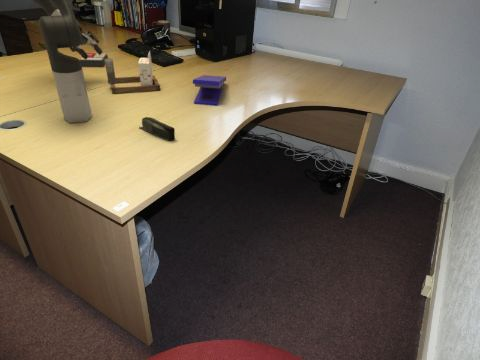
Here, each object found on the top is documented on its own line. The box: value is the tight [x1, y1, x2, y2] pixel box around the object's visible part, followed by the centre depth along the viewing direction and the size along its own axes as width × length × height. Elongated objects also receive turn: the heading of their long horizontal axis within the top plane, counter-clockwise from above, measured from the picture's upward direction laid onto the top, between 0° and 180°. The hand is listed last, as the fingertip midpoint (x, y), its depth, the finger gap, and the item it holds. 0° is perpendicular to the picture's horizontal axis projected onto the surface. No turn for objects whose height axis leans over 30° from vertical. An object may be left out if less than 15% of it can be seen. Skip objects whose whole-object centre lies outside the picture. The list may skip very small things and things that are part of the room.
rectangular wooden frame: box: [104, 57, 161, 94], centre depth 145 cm, size 14×21×12 cm
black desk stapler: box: [138, 116, 176, 142], centre depth 112 cm, size 5×3×15 cm
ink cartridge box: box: [137, 50, 154, 86], centre depth 146 cm, size 9×5×15 cm, turn 9°
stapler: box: [192, 74, 227, 107], centre depth 146 cm, size 12×28×10 cm, turn 177°
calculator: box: [79, 52, 109, 68], centre depth 173 cm, size 11×4×15 cm
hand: (94, 55), depth 141 cm, fingers open, 8 cm apart
